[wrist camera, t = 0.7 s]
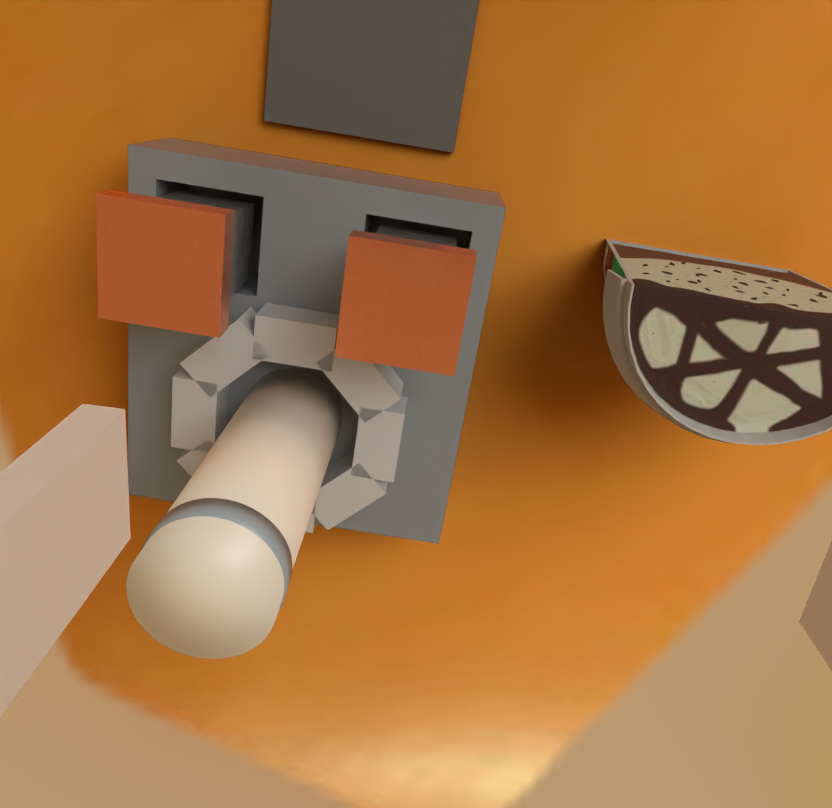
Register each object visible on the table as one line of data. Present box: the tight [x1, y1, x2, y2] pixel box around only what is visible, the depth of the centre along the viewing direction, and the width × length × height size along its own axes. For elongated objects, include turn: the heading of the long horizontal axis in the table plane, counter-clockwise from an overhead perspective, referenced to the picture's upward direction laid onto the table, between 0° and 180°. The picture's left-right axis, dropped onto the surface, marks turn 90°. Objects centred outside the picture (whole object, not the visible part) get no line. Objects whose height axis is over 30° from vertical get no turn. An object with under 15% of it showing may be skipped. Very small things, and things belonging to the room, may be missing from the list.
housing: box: [128, 138, 506, 544], centre depth 35 cm, size 17×16×7 cm
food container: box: [602, 239, 832, 445], centre depth 33 cm, size 12×6×10 cm, turn 81°
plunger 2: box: [335, 224, 477, 376], centre depth 30 cm, size 5×5×7 cm
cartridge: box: [126, 368, 342, 659], centre depth 29 cm, size 5×5×14 cm
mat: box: [264, 0, 479, 153], centre depth 33 cm, size 9×9×1 cm
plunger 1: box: [96, 189, 255, 338], centre depth 30 cm, size 5×5×7 cm
